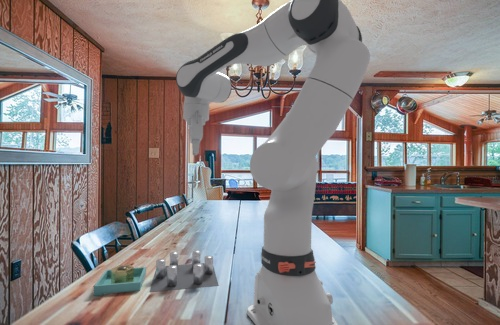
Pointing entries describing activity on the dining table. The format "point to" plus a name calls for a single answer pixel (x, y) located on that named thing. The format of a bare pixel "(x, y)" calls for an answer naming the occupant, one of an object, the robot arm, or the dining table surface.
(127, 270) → the brass nut
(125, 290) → the parts tray
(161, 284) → the mat
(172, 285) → the steel spacers
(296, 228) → the robot arm
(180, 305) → the dining table surface
